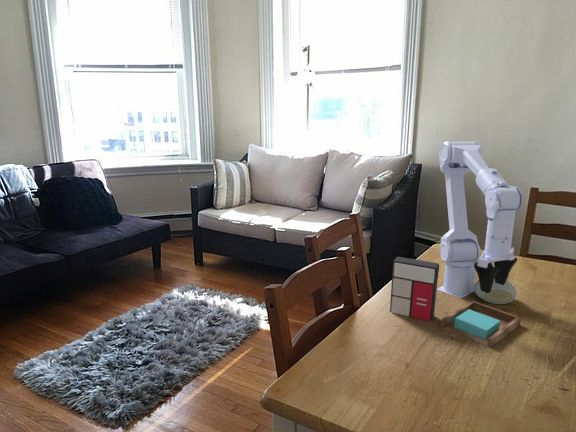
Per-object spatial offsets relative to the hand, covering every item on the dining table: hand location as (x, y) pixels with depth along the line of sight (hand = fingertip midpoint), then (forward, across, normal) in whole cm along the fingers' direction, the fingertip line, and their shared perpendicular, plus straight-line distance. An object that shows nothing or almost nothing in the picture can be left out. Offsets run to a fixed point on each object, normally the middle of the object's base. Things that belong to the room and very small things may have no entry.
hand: (492, 287), depth 112 cm
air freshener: (+10, +14, +5) cm, 17 cm away
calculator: (+10, -12, +15) cm, 21 cm away
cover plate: (+9, -6, 0) cm, 11 cm away
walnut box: (+10, -4, 0) cm, 11 cm away
